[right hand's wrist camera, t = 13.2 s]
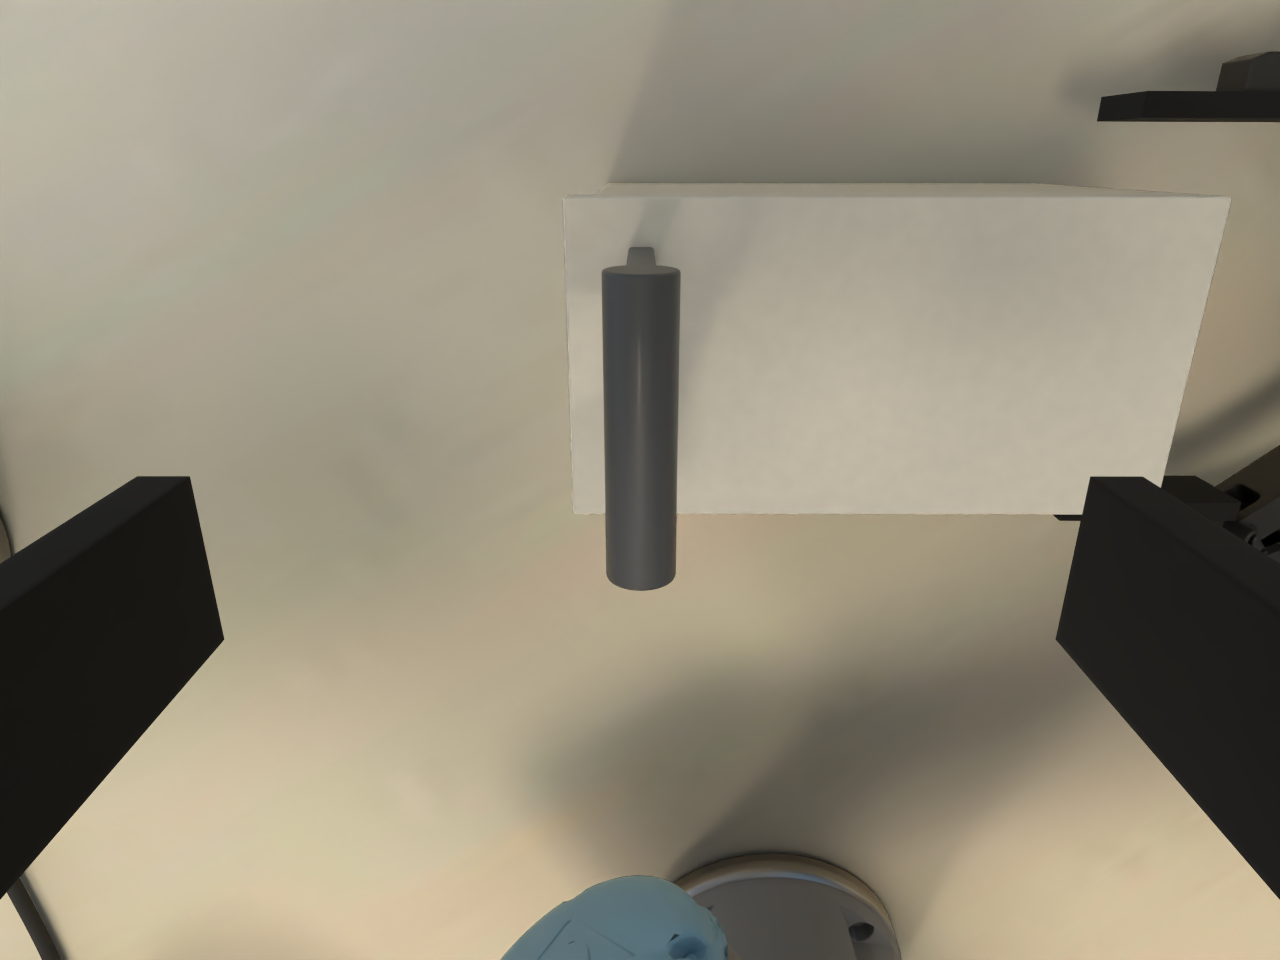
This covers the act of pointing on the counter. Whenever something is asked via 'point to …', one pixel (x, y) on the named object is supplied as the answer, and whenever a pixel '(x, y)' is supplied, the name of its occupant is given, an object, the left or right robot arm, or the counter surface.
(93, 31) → the counter surface
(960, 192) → the chest
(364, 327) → the counter surface
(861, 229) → the lid
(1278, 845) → the right robot arm
